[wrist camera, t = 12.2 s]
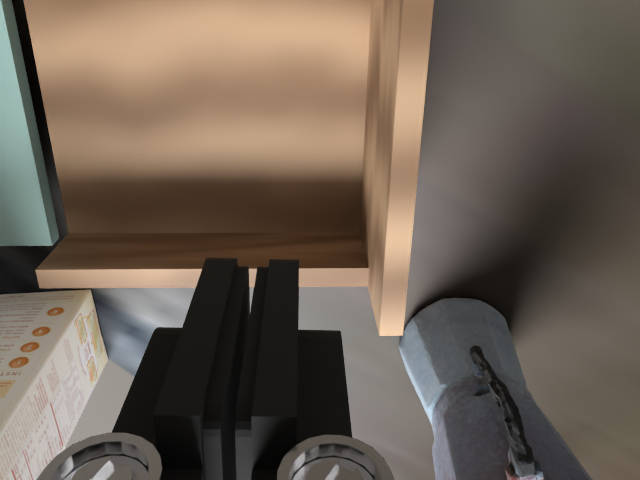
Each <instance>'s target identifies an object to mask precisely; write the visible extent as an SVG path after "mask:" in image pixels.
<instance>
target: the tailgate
mask: <svg viewBox="0 0 640 480" xmlns="http://www.w3.org/2000/svg"><path fill="white" fill-rule="evenodd" d="M58 239H59V233H58V228H57V223H56V218H55V213H54V208H53V203H52V198H51V193H50V188H49V183H48V178H47V173H46V168H45V163H44V158H43V153H42V148H41V143H40V138H39V134H38V129H37V124H36V119H35V114H34V109H33V104H32V99H31V94H30V89H29V84H28V79H27V74H26V69H25V64H24V59H23V54H22V49H21V44H20V39H19V34H18V29H17V24H16V19H15V14H14V9H13V4H12V0H0V246H52V245H53V244H54V243H55V242H56V241H57V240H58Z"/></svg>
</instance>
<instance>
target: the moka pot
mask: <svg viewBox="0 0 640 480" xmlns="http://www.w3.org/2000/svg"><path fill="white" fill-rule="evenodd" d="M399 349H400V353H401V355H402V358H403V361H404V365H405V367H406V370H407V373H408V375H409V377H410V379H411V381H412V383H413V385H414V387H415V390H416V392H417V394H418V396H419V398H420V400H421V402H422V405H423V407H424V409H425V411H426V413H427V415H428V417H429V420H430V422H431V424H432V428H433V433H434V436H435V440H434V443H433V447H432V454H433V462H434V469H435V476H436V480H592V479H591V478H590V476H589V475H588V473H587V472H586V471H585V469H584V468H583V467H582V465H581V464H580V463H579V461H578V460H577V458H576V457H575V456H574V454H573V453H572V451H571V450H570V449H569V447H568V446H567V444H566V443H565V442H564V440H563V439H562V437H561V436H560V435H559V433H558V432H557V431H556V429H555V428H554V427H553V425H552V424H551V423H550V421H549V420H548V418H547V417H546V416H545V414H544V413H543V412H542V411H541V409H540V408H539V407H538V406H537V404H536V402H535V400H534V399H533V397H532V395H531V393H530V392H529V391H528V389H527V386H526V382H525V379H524V376H523V373H522V369H521V366H520V363H519V360H518V357H517V354H516V351H515V348H514V344H513V341H512V338H511V335H510V332H509V329H508V326H507V323H506V320H505V317H504V316H503V315H502V314H500V313H499V312H498V311H497V310H496V309H495V308H493V307H492V306H490V305H488V304H486V303H485V302H483V301H481V300H476V299H471V298H444V299H441V300H439V301H437V302H435V303H433V304H431V305H429V306H427V307H426V308H424V309H423V310H421V311H420V312H419V313H418V314H417V315H416V316H415V317H413V318H412V319H411V320H410V322H409V323H408V325H407V327H406V329H405V331H404V333H403V336H402V337H401V340H400V342H399Z"/></svg>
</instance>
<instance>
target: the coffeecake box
mask: <svg viewBox="0 0 640 480" xmlns="http://www.w3.org/2000/svg"><path fill="white" fill-rule="evenodd" d="M107 361H108V357H107V353H106V349H105V345H104V341H103V338H102V335H101V332H100V327H99V323H98V318H97V313H96V309H95V305H94V300H93V297H92V293H91V290H69V291H52V292H35V293H18V294H2V295H0V480H37V478H38V477H39V475H40V474H41V473H42V471H43V470H44V469H45V467H46V466H47V465H48V464H49V463H50V462H51V461H52V460H53V459H54V458H55V457H56V456H57V455H58V454H59V453H61V452H62V451H64V449H65V447H66V445H67V442H68V440H69V438H70V436H71V434H72V432H73V430H74V429H75V426H76V424H77V422H78V420H79V418H80V416H81V414H82V412H83V410H84V408H85V406H86V404H87V402H88V400H89V397H90V395H91V394H92V392H93V389H94V388H95V386H96V384H97V382H98V380H99V377H100V375H101V373H102V371H103V369H104V367H105V365H106V363H107Z"/></svg>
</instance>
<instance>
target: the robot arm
mask: <svg viewBox="0 0 640 480" xmlns="http://www.w3.org/2000/svg"><path fill="white" fill-rule="evenodd" d="M298 302H299V260H285V259H269V267H257V273H256V279H255V286H254V292H253V299H252V305H251V312H250V301H249V267H248V266H238V260H237V258H206V259H205V262H204V265H203V268H202V271H201V274H200V277H199V280H198V283H197V286H196V289H195V292H194V295H193V298H192V301H191V304H190V307H189V310H188V313H187V316H186V319H185V322H184V324H183V327H182V328H163V327H158V328H156V329H155V331H154V332H153V334H152V337H151V339H150V341H149V344H148V346H147V349H146V351H145V353H144V356H143V358H142V361H141V363H140V366H139V368H138V370H137V373H136V375H135V378H134V380H133V383H132V385H131V387H130V390H129V392H128V395H127V397H126V399H125V402H124V404H123V407H122V409H121V412H120V414H119V416H118V419H117V421H116V424H115V426H114V429H113V431H112V433H105V434H101V435H96V436H91V437H89V438H86V439H84V440H82V441H79V442H77V443H75V444H72V445H71V446H70V447H68V448H67V449H65V450H64V451H62V452H61V453H59V454H58V455H57V456H56V457H55V458H54V459H53V460H52V461H51V462H50V463H49V464H48V465H47V466H46V467H45V469H44V470H43V471H42V473H41V474H40V475H39V477H38V478H37V480H394V477H393V475H392V472H391V470H390V468H389V466H388V465H387V463H386V461H385V459H384V458H383V457H382V456H381V455H380V454H379V453H378V452H377V451H376V450H375V449H374V448H373V447H371V446H369V445H367V444H365V443H364V442H362V441H360V440H358V439H355V438H352V432H351V422H350V413H349V403H348V394H347V384H346V375H345V366H344V356H343V347H342V337H341V332H340V331H330V330H298Z"/></svg>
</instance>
